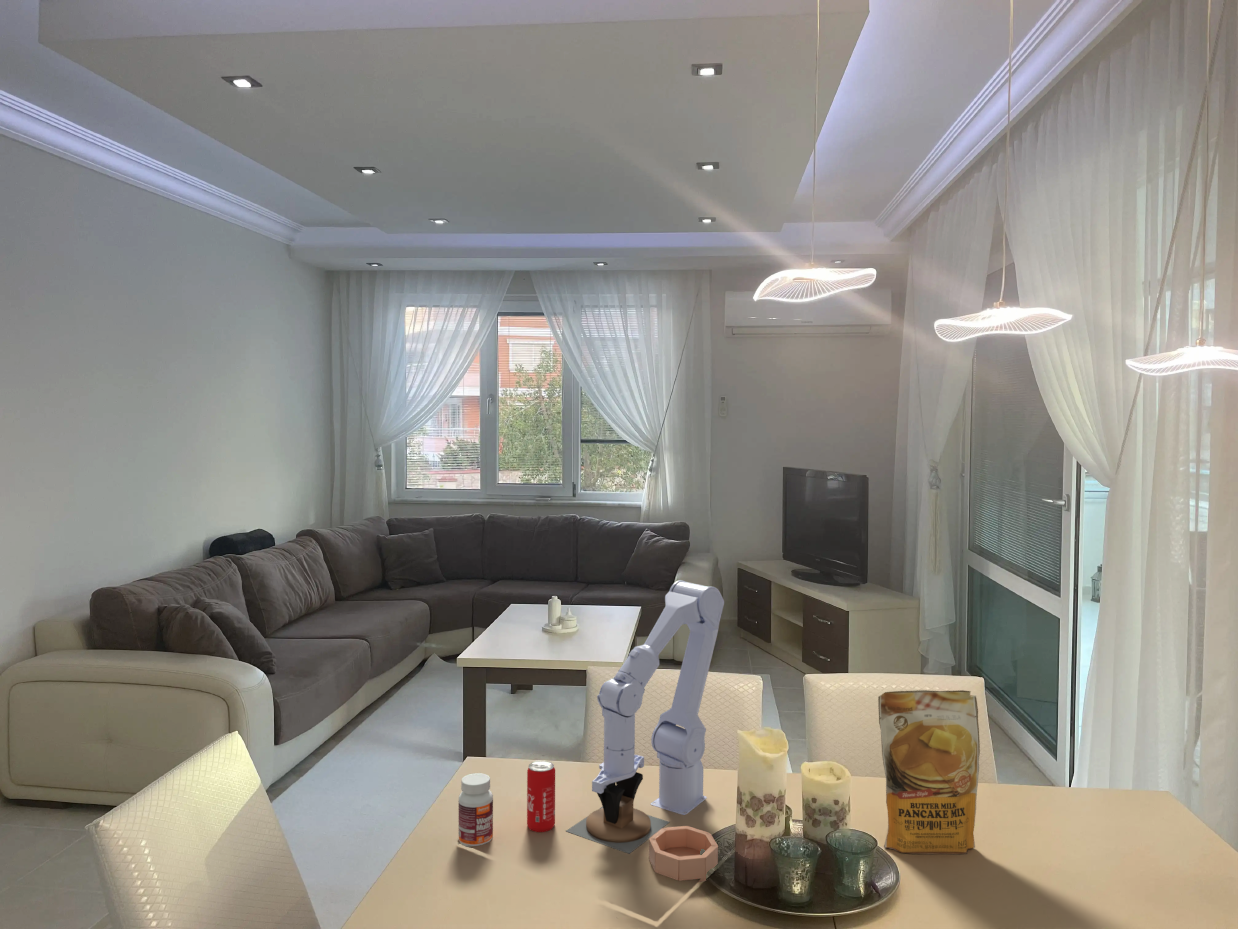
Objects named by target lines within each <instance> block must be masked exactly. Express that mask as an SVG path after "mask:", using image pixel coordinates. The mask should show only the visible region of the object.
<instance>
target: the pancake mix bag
mask: <svg viewBox="0 0 1238 929" xmlns="http://www.w3.org/2000/svg"><path fill="white" fill-rule="evenodd" d="M971 692H972V691H971V690H964V689H962V690H960V689H959V690H927V689H926V690H923V689H922V690H898V691H894V690H893V691H885V692H883V693H882V694H880V695H879V696H878V697H877V698H878V700H877V701H878V703H877V704H878V723H879V728H880V738H881V739H880V741H881V756H882V757H881V758H882V761H883V762H882V763H883V769H884V774H885V803H886V809H887V820H888V821H887V824H888V825H887V833H886V838H885V841H884V845H883V848H886V849H890V850H891V849H892V850H893V851H896V852H898V853H902V854H912V855H913V854H914V855H915V854H917V855H920V854H921V855H922V854H923V855H941V854H945V855H962V854H963V855H964V854H966V855H967V854H968V851H969V850H972V849H976V842H975V837H974V836H975V835H974V832H975V826H976V825H975V823H976V815H977V814H976V813H977V795H978V786H979V775H980V774H979V773H980V772H979V771H980V762H979V761H980V754H981V753H980V752H981V747H980V746H981V745H980V744H981V742H980V727H979V726H980V725H979V708H978V698H977V695H971Z"/></svg>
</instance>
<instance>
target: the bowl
mask: <svg viewBox="0 0 1238 929" xmlns="http://www.w3.org/2000/svg"><path fill="white" fill-rule="evenodd" d="M701 849H704V850H705V852H704V853H703V854H702V855H700V851H701ZM718 855H719V845H718V844H717V842H716V840H715V839H714V837H713V835H712V833H710V832H708V831H705V830H702V829H699V828H695V827H692V826H690V825H682V826H681V825H680V826H669V827H663V828H662V829H660V830H659V831H658V832H657V833H655V834H654V835H653V836H652V837H650V838H649V839H648V860H649V863H650V864H651V866H652V869H653V872H654V873H656V874H659V875H661V876H664V877H667V878H671V879H673V880H676V881H678V882H680V881H681V882H682V881H689V880H698V881H697V883H700V882H706V881H707V880H706V874H707V872H708V871H709V870H710V869H712V868H714V867H715V866H716V865H717V864H718V863H719V858H718V857H719V856H718Z"/></svg>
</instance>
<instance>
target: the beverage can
mask: <svg viewBox="0 0 1238 929" xmlns="http://www.w3.org/2000/svg"><path fill="white" fill-rule="evenodd" d="M526 775H527V776H526V777H527V778H526V779H527V780H526V783H527V784H526V787H527V789H526V825H527V827H528V829H529V830H530V831H532V832H536V833H545V832H549V831H551V830H552V829H553V828H554V826H555V824H556V767H555V764H554V762H552V761H548V760H535V761H532V762H531V763H529V764H528V768H527V771H526Z"/></svg>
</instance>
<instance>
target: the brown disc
mask: <svg viewBox="0 0 1238 929" xmlns="http://www.w3.org/2000/svg"><path fill="white" fill-rule="evenodd" d="M600 808H601V807H600ZM600 808H598V809H596V810H594V811H592V812H591V813H590V814H588V815H587V816H588V817H587V816H586V817H587V819H586V829H587V831H588V832H589V834H590V835H592V836H593V837H595V838H597V839H600V840H603V841H607V842H615V843H623V842H631V841H635V840H638V839H641V838H643V837H644V836H646V835H647V834H648V833H649V831H650V828H651V820H650V818H649V816H648V815H649V814H646V813H645V812H644V811H642V810H640V809H638V808H634V802H633V799H632V798H629V797H626V796H623V795H622V798H621V801H620V806H619V816H618V821H617V823H616V824H613V823H610V822H607V821H606V818H605V814H604V810H603V808H601V809H600Z"/></svg>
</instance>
